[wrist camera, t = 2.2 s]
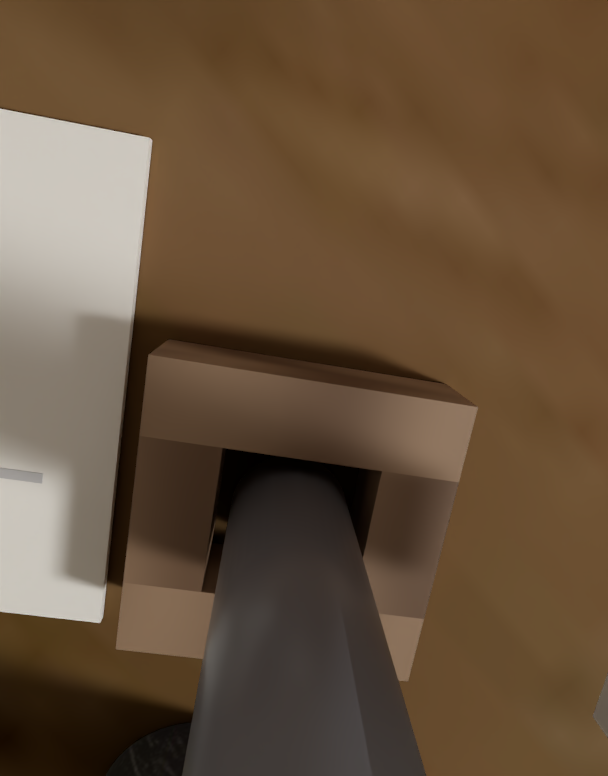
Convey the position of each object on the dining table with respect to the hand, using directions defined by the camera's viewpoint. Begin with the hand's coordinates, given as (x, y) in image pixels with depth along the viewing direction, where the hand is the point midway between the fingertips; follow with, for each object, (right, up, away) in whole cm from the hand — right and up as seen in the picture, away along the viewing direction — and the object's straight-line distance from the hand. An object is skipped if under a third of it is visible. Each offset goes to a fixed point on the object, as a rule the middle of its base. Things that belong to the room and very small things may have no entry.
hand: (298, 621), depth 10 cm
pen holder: (0, +1, +6) cm, 6 cm away
